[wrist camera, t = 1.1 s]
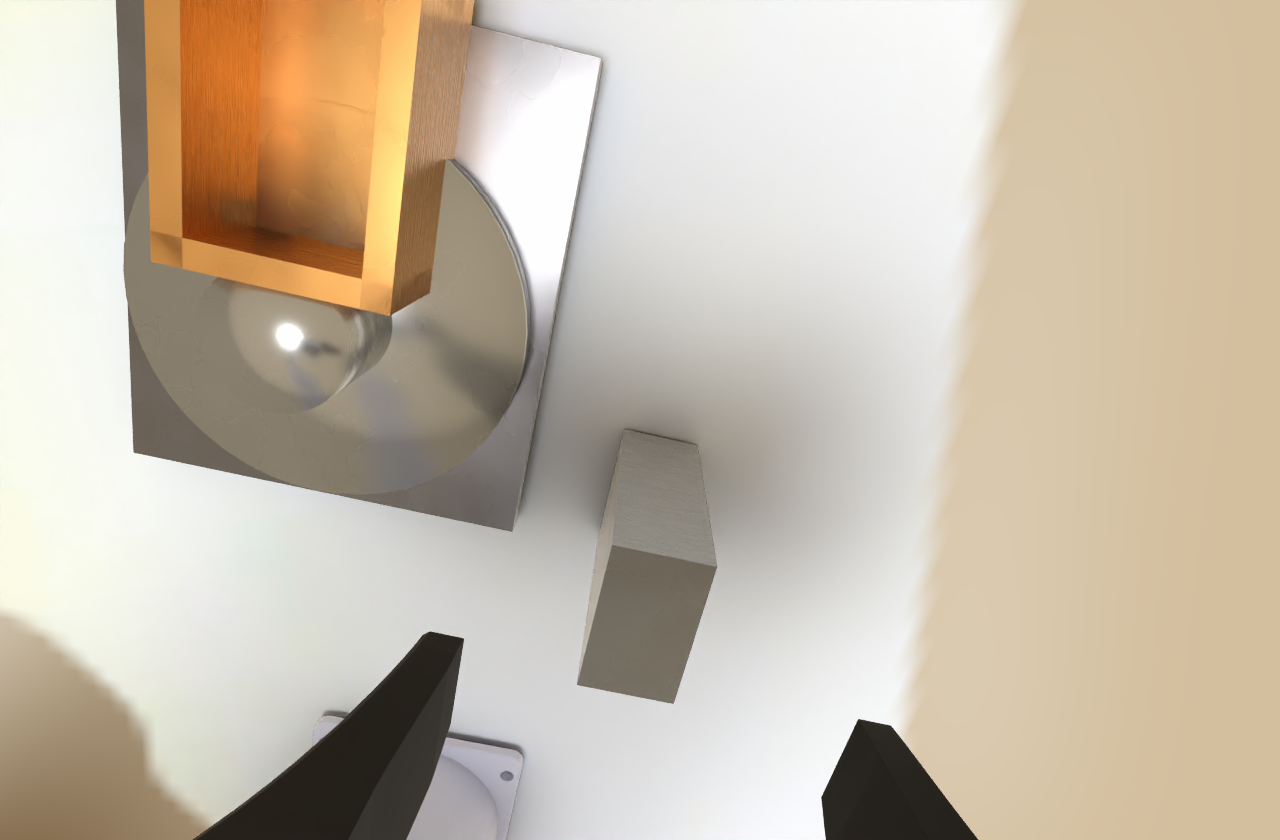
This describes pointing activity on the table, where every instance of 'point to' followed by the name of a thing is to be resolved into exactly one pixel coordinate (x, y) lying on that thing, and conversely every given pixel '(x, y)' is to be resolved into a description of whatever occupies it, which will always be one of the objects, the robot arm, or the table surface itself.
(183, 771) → the table surface
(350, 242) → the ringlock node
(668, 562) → the brushed metal block
